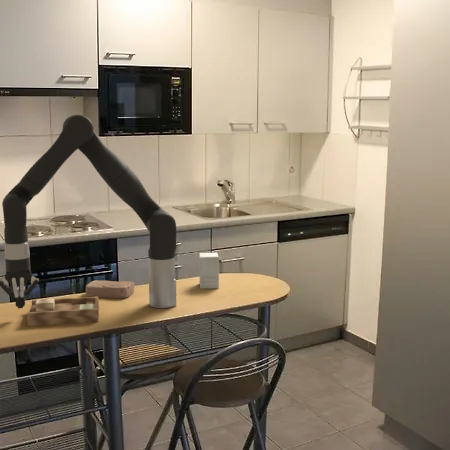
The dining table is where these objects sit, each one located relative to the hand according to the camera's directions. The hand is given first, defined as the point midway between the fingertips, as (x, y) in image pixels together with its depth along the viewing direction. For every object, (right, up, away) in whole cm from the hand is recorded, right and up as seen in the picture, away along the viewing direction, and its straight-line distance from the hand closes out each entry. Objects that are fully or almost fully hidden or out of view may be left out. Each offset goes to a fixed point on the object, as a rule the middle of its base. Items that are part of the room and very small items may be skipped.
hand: (20, 307), depth 199 cm
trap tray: (+14, -3, +3) cm, 14 cm away
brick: (+24, +1, +29) cm, 37 cm away
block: (+8, -1, +2) cm, 8 cm away
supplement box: (+60, +3, +39) cm, 72 cm away
